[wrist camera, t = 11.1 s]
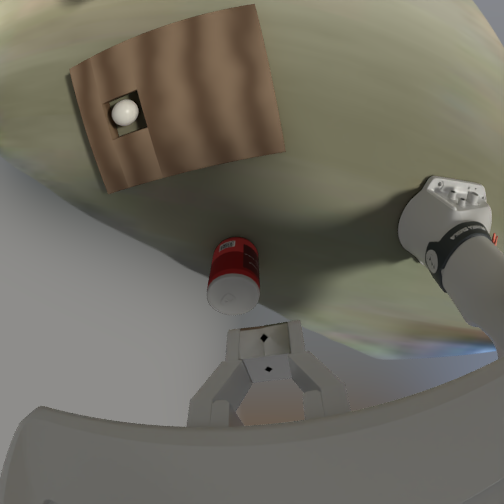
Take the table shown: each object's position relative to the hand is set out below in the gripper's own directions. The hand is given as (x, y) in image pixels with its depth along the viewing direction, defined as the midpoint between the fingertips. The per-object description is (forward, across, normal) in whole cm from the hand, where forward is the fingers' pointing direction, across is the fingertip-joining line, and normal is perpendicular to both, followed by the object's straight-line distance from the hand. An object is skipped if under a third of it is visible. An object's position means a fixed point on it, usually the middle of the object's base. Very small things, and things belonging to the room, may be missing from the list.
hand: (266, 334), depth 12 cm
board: (+34, +10, -10) cm, 37 cm away
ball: (+32, +17, -10) cm, 38 cm away
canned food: (+34, +7, +18) cm, 39 cm away
